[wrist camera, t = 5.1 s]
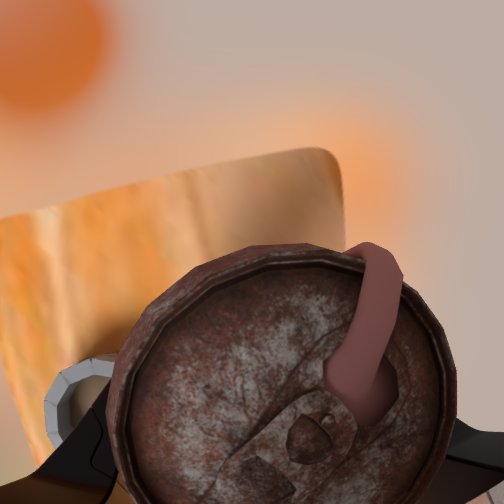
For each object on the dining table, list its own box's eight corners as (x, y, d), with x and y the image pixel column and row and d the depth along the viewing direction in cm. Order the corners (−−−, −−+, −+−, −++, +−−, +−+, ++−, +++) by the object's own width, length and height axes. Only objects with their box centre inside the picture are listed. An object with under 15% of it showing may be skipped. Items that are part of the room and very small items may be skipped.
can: (290, 318, 18) (489, 265, 5) (265, 421, 16) (411, 565, 3) (188, 291, 17) (163, 154, 4) (161, 398, 16) (75, 551, 2)
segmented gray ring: (186, 481, 19) (186, 502, 15) (65, 459, 17) (49, 475, 14) (189, 361, 21) (188, 368, 18) (61, 343, 20) (41, 345, 16)
